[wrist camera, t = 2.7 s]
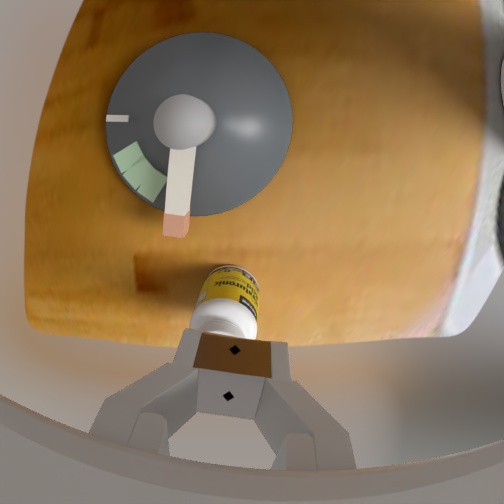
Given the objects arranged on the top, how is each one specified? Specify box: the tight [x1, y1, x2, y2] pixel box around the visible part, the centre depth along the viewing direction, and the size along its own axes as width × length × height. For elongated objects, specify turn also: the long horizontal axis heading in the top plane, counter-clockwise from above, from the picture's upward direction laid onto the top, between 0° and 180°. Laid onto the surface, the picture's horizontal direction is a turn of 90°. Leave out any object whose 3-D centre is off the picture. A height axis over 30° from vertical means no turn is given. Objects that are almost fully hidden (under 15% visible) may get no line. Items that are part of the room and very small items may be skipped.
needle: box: [153, 94, 217, 238], centre depth 23 cm, size 11×4×4 cm, turn 171°
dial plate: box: [106, 32, 293, 216], centre depth 24 cm, size 16×16×1 cm
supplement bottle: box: [190, 265, 259, 340], centre depth 26 cm, size 5×5×10 cm
